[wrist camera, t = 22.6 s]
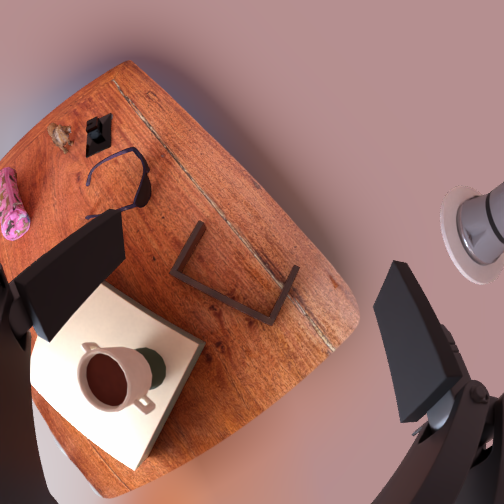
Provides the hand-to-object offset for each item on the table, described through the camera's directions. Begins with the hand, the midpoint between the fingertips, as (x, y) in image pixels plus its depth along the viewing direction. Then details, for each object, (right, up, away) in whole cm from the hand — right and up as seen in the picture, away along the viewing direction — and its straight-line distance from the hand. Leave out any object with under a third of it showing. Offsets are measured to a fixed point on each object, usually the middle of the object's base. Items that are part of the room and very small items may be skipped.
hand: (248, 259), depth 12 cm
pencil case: (-60, +12, +38) cm, 72 cm away
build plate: (-37, +29, +42) cm, 63 cm away
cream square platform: (-25, -20, +28) cm, 42 cm away
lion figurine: (-48, +29, +42) cm, 71 cm away
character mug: (-15, -16, +22) cm, 31 cm away
